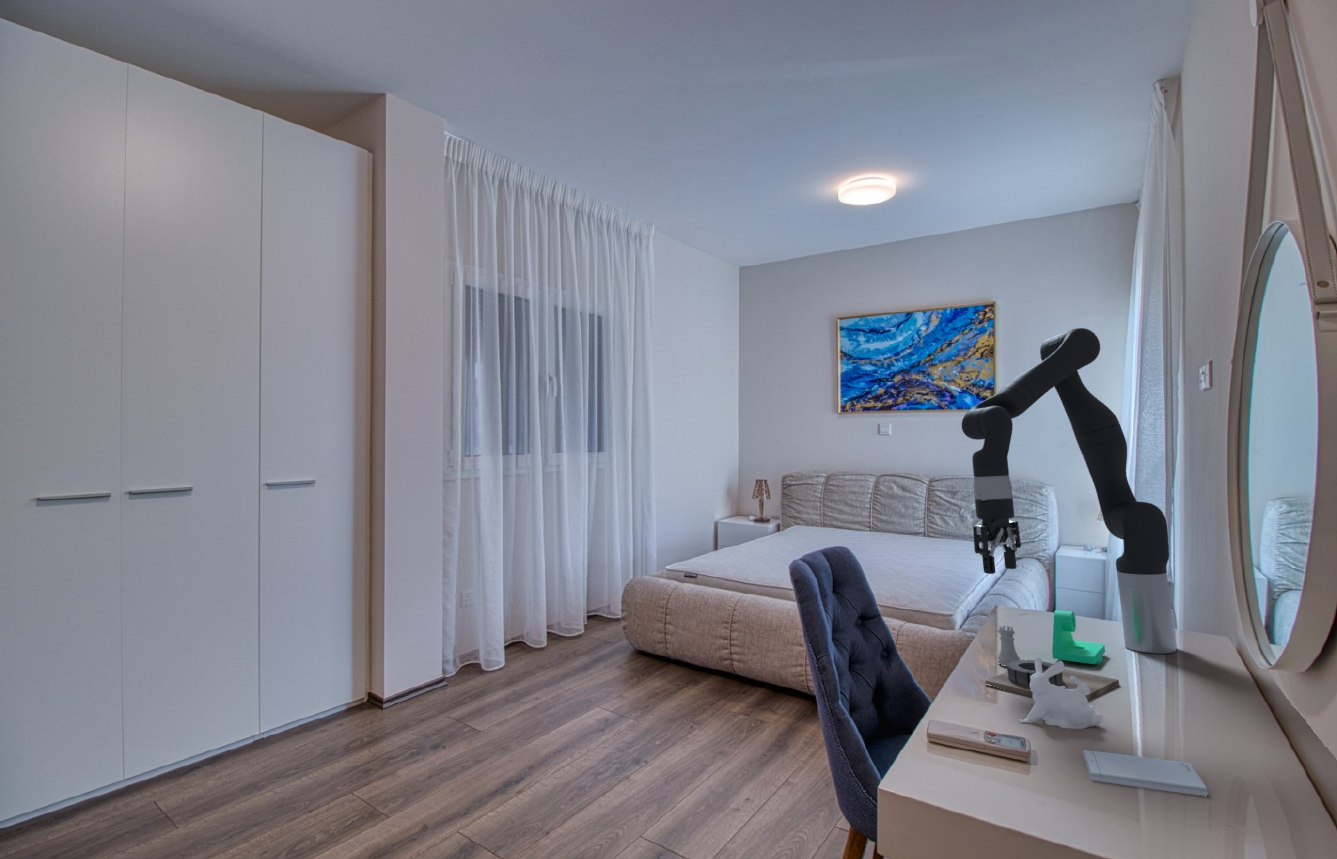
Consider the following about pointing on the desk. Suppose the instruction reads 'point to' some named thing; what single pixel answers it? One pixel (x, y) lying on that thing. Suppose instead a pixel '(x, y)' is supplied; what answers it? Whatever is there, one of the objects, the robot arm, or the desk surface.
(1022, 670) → the socket board
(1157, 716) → the desk surface
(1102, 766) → the hard drive
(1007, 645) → the rook chess piece
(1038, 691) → the rabbit figurine
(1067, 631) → the camera mount
